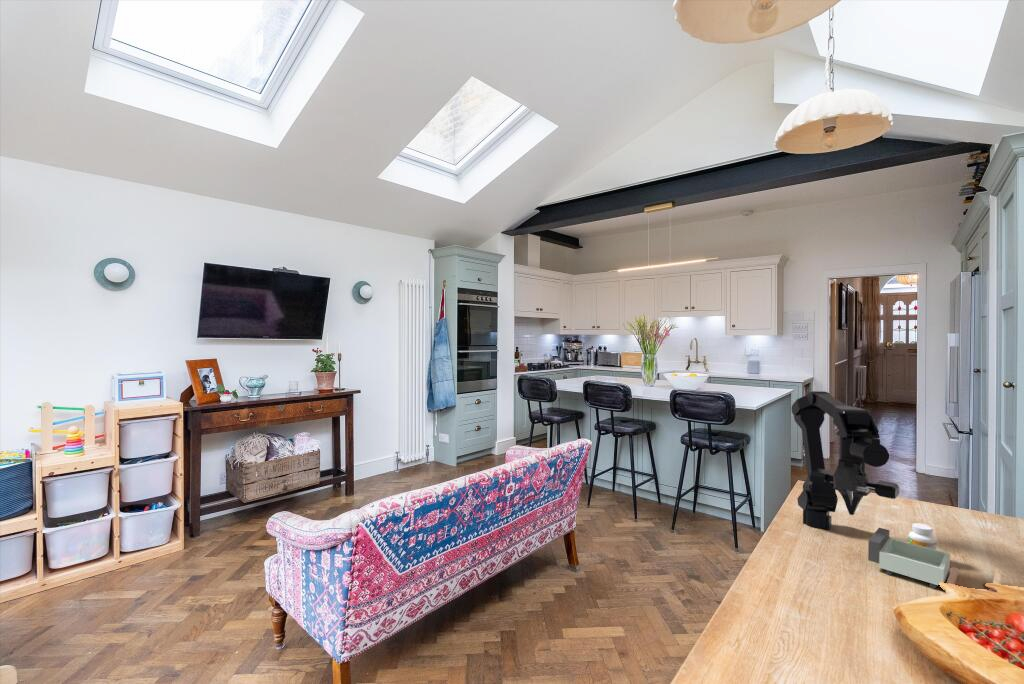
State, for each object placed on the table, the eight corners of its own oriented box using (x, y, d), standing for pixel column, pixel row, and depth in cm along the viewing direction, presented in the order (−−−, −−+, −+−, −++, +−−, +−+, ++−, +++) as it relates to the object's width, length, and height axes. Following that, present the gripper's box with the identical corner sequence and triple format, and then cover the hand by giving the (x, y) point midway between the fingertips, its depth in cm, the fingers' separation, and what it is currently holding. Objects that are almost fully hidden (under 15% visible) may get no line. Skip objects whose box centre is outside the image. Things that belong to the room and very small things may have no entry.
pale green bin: (868, 569, 116) (868, 540, 115) (878, 554, 123) (879, 527, 123) (943, 592, 105) (943, 560, 105) (949, 574, 113) (950, 545, 113)
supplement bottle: (902, 558, 124) (903, 522, 123) (922, 557, 124) (922, 521, 124) (921, 568, 118) (921, 530, 118) (941, 567, 118) (942, 530, 118)
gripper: (802, 454, 124) (801, 512, 125) (890, 469, 110) (889, 534, 111) (815, 447, 132) (815, 502, 132) (900, 461, 118) (899, 522, 118)
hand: (851, 514), depth 123 cm, fingers closed
